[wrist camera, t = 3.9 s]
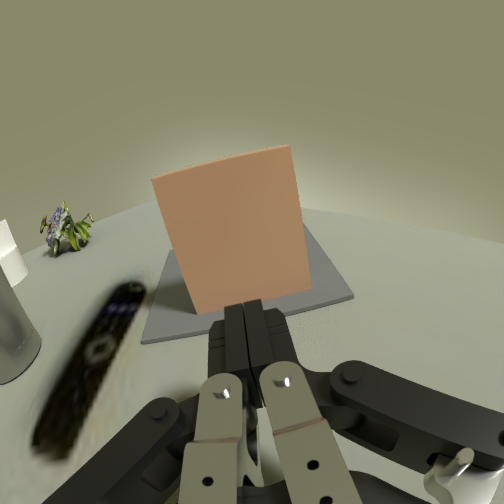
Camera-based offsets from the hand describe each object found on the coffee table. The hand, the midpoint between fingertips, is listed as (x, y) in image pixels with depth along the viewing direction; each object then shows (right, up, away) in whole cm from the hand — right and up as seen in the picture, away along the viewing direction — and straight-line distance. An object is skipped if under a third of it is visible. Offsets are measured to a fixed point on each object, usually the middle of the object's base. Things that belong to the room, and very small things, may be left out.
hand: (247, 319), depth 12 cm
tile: (0, -1, +14) cm, 14 cm away
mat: (-1, +1, +19) cm, 19 cm away
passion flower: (-38, +4, +43) cm, 57 cm away
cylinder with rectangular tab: (-49, -3, +34) cm, 60 cm away
